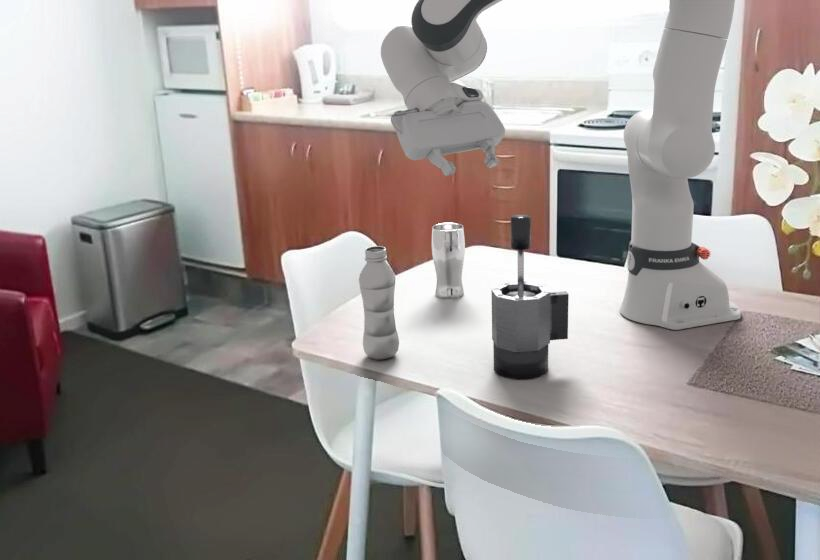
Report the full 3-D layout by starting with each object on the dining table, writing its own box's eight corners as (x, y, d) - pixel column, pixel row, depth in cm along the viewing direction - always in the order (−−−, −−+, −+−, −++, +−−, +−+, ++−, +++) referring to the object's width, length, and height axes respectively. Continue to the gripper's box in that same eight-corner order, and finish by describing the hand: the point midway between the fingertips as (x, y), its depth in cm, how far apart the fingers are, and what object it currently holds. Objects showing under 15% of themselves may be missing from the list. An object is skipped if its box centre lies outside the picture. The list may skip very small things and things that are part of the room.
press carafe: (558, 353, 151) (559, 278, 146) (573, 375, 142) (575, 296, 137) (488, 359, 149) (487, 284, 145) (499, 381, 141) (499, 302, 136)
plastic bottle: (405, 351, 154) (400, 245, 148) (389, 366, 149) (384, 256, 142) (373, 347, 157) (367, 242, 151) (356, 361, 151) (349, 253, 145)
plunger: (531, 293, 144) (532, 212, 140) (539, 303, 139) (539, 219, 135) (502, 295, 144) (502, 214, 139) (509, 305, 139) (508, 222, 135)
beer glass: (463, 300, 179) (461, 231, 174) (430, 299, 180) (428, 230, 175) (468, 289, 185) (466, 222, 181) (436, 288, 187) (434, 222, 182)
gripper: (393, 100, 141) (431, 166, 136) (487, 88, 152) (525, 149, 147) (379, 125, 145) (416, 190, 141) (471, 111, 157) (508, 171, 152)
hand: (473, 169), depth 144 cm, fingers open, 8 cm apart
